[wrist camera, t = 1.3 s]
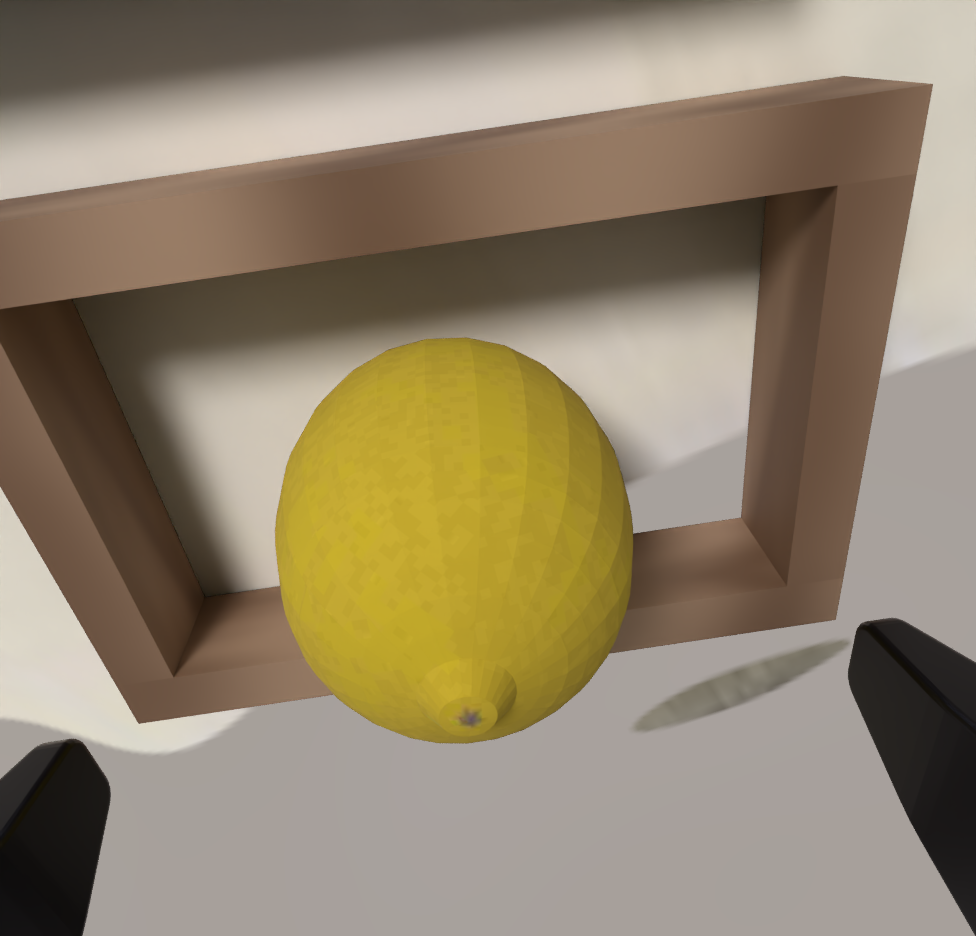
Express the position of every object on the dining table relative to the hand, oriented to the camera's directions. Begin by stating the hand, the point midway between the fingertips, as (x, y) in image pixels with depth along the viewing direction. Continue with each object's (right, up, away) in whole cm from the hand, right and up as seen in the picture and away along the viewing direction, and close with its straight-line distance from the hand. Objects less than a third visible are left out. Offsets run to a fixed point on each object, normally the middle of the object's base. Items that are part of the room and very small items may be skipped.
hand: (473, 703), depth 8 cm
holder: (-1, +4, +7) cm, 8 cm away
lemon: (-1, +4, +7) cm, 8 cm away
